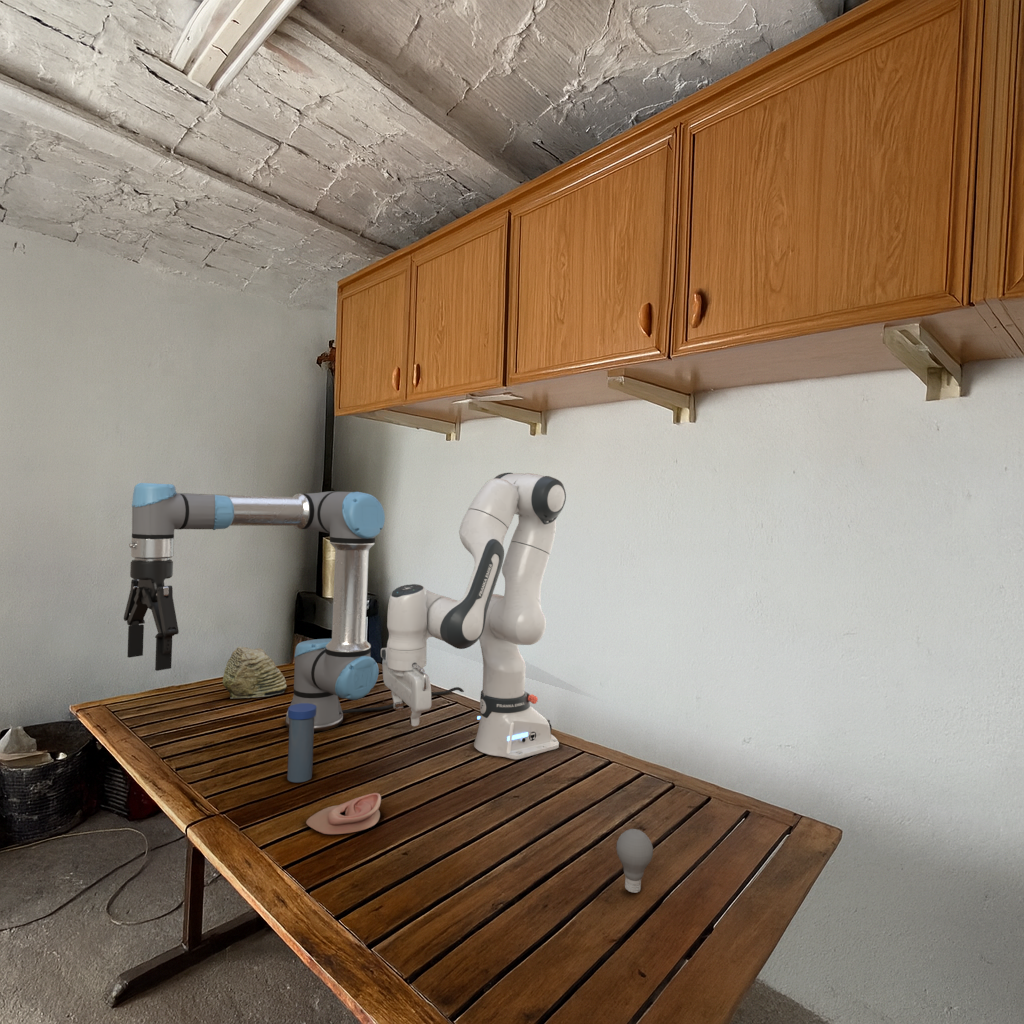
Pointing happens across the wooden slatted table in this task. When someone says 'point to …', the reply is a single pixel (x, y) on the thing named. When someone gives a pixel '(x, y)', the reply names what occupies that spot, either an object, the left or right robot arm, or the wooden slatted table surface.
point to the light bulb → (634, 857)
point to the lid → (302, 711)
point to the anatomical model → (347, 816)
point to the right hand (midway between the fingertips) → (406, 717)
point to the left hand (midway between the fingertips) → (148, 662)
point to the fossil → (252, 674)
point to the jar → (300, 750)
